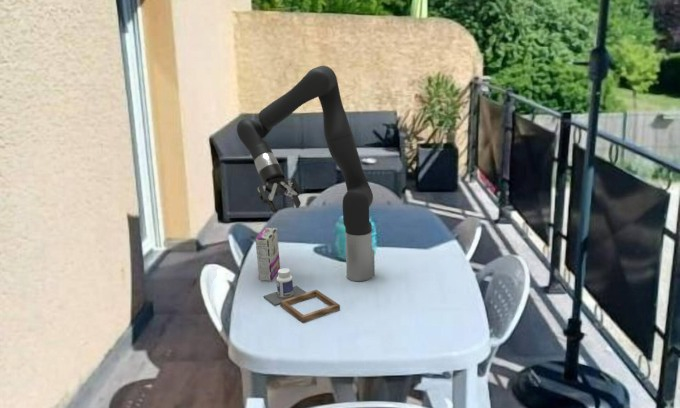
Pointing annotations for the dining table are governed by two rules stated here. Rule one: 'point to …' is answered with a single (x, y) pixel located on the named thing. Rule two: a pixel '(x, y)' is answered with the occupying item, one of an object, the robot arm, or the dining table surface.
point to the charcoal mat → (275, 299)
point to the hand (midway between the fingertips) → (287, 209)
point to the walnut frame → (303, 318)
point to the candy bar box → (267, 254)
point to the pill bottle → (284, 283)
